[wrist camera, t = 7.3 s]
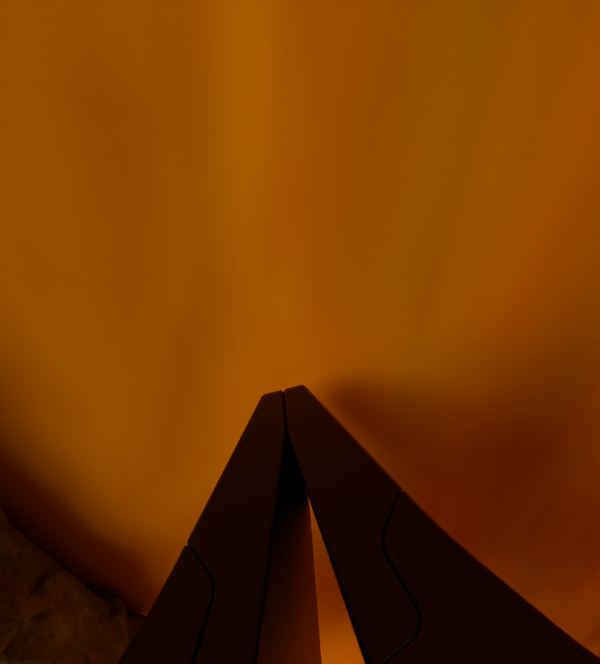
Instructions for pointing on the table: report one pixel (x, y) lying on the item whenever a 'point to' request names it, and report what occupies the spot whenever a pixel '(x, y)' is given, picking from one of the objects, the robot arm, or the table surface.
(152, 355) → the table surface
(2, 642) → the hand tool
